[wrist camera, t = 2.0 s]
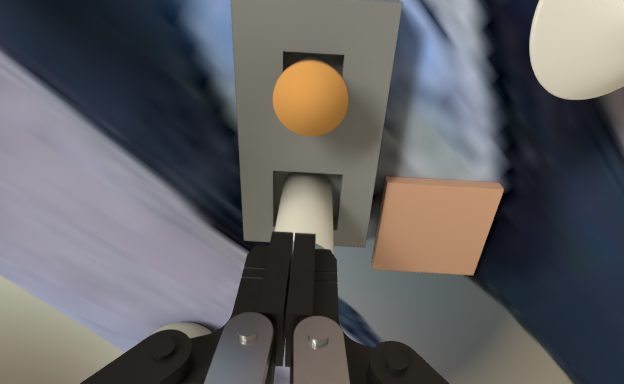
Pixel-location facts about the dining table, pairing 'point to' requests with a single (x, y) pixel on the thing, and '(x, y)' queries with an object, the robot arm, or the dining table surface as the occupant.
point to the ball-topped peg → (307, 207)
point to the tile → (434, 224)
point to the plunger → (310, 97)
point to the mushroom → (578, 47)
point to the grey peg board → (324, 148)
